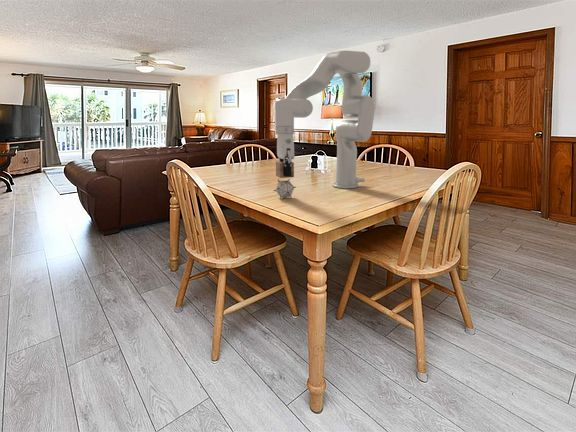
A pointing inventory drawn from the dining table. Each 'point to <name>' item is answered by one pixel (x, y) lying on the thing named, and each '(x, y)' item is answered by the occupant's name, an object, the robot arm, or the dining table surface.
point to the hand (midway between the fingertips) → (284, 174)
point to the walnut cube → (280, 169)
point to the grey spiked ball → (284, 188)
